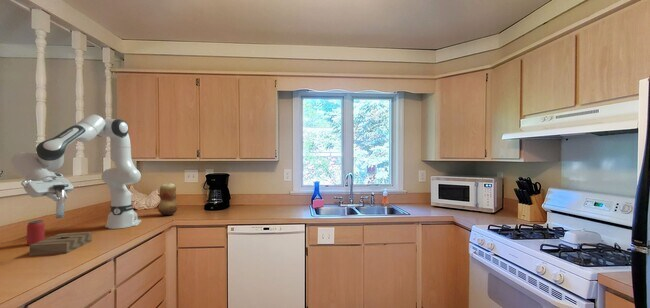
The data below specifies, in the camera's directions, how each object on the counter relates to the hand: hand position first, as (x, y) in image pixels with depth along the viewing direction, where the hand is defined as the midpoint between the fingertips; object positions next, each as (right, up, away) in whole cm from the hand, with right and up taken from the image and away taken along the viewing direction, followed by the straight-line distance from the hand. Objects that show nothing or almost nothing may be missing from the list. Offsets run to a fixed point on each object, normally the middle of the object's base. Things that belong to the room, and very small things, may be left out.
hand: (61, 199), depth 136 cm
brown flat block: (-6, -26, +7) cm, 27 cm away
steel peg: (-1, -9, 0) cm, 9 cm away
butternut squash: (+5, -26, +84) cm, 88 cm away
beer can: (-27, -26, +13) cm, 40 cm away
